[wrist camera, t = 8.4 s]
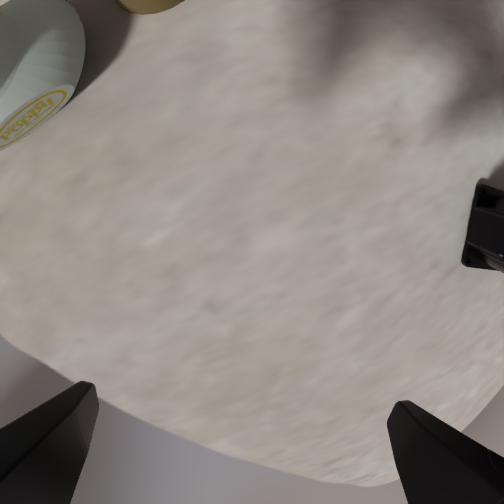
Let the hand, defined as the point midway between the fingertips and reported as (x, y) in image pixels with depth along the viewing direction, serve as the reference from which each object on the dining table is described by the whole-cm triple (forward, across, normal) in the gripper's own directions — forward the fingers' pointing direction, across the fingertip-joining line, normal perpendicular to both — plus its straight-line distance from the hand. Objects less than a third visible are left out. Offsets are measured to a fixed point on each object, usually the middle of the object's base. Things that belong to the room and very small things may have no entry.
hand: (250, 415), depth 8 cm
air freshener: (+13, +16, -12) cm, 24 cm away
